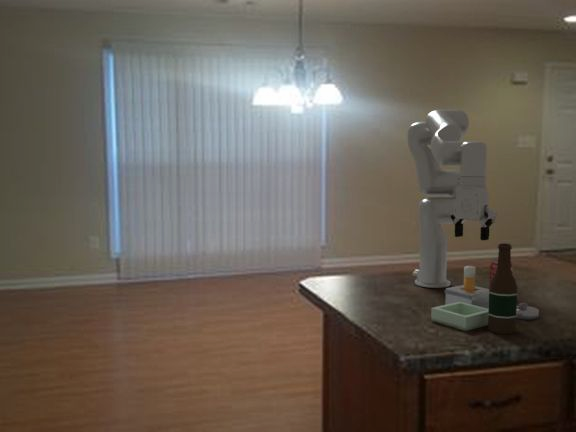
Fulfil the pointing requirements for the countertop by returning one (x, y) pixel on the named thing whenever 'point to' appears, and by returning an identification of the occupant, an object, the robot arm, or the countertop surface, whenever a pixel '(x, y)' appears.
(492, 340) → the countertop surface
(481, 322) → the tray
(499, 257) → the beer bottle
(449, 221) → the robot arm
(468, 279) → the pin
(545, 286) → the countertop surface
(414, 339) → the countertop surface
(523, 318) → the metal pot lid
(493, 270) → the soda can
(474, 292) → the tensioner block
